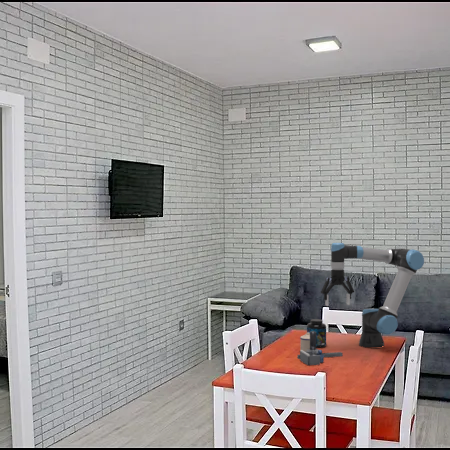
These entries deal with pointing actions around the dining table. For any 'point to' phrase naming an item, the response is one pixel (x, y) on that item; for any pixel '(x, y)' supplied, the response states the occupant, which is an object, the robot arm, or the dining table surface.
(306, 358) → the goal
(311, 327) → the container
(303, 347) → the teacup with lid
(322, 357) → the kicker
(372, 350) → the dining table surface
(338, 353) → the rail
